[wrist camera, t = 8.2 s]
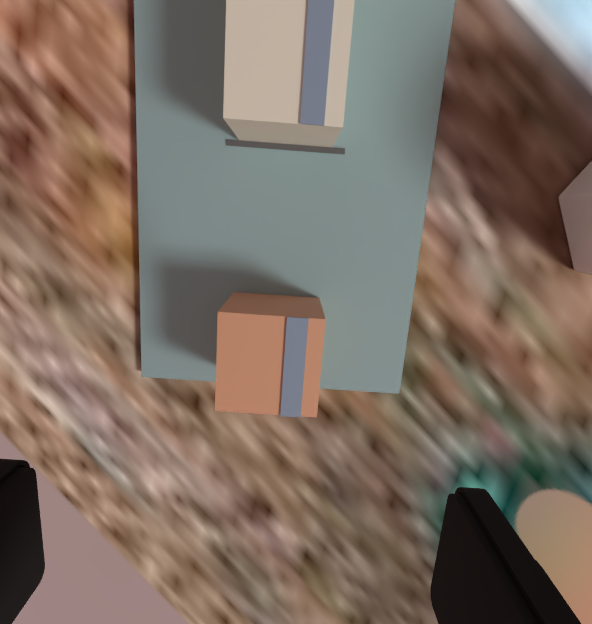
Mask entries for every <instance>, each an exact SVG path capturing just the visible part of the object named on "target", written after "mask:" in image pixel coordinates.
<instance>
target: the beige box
mask: <svg viewBox="0 0 592 624" xmlns="http://www.w3.org/2000/svg"><path fill="white" fill-rule="evenodd" d="M354 3H355V0H226V28H225V66H224V104H223V119H224V120H225V121H226V123H227V124H228V125H229V127H230V128H231V130H232V131H233V132H234V134H235V135H236V136H237V138H238V139H239V140H242V141H255V142H268V143H281V144H294V145H307V146H321V147H333V145H334V143H335V141H336V140H337V138H338V136H339V134H340V132H341V130H342V129H343V123H344V112H345V101H346V90H347V79H348V68H349V57H350V46H351V35H352V24H353V14H354Z"/></svg>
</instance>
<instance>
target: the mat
mask: <svg viewBox="0 0 592 624" xmlns="http://www.w3.org/2000/svg"><path fill="white" fill-rule="evenodd" d="M454 6H455V0H355V3H354V14H353V24H352V35H351V46H350V57H349V68H348V79H347V90H346V101H345V112H344V123H343V129H342V130H341V132H340V134H339V136H338V138H337V140H336V141H335V143H334V145H333V147H321V146H307V145H294V144H281V143H268V142H255V141H242V140H239V139H238V138H237V136H236V135H235V134H234V132H233V131H232V130H231V128H230V127H229V125H228V124H227V123H226V121H225V120H224V119H223V104H224V66H225V28H226V0H134V34H135V83H136V131H137V179H138V228H139V276H140V324H141V373H142V377H152V378H167V379H183V380H198V381H214V382H216V357H217V318H218V311H219V310H220V308H221V307H222V306H223V305H224V303H225V302H226V301H227V300H228V299H229V297H230V296H231V295H232V294H233V292H243V293H257V294H272V295H286V296H300V297H315V298H320V302H321V305H322V308H323V312H324V315H325V318H326V322H325V333H324V344H323V355H322V366H321V377H320V388H322V389H337V390H352V391H368V392H383V393H399V392H400V385H401V378H402V371H403V364H404V357H405V350H406V343H407V336H408V329H409V322H410V315H411V308H412V301H413V294H414V287H415V280H416V273H417V266H418V258H419V251H420V244H421V237H422V230H423V223H424V216H425V209H426V202H427V195H428V188H429V181H430V174H431V167H432V160H433V153H434V146H435V139H436V132H437V125H438V118H439V111H440V104H441V97H442V90H443V83H444V76H445V69H446V62H447V55H448V48H449V41H450V34H451V27H452V20H453V13H454Z"/></svg>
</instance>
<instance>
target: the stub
mask: <svg viewBox="0 0 592 624" xmlns="http://www.w3.org/2000/svg"><path fill="white" fill-rule="evenodd" d="M325 322H326V318H325V315H324V312H323V308H322V305H321V302H320V298H315V297H300V296H286V295H272V294H257V293H243V292H233V294H232V295H231V296H230V297H229V299H228V300H227V301H226V302H225V303H224V305H223V306H222V307H221V308H220V310H219V311H218V318H217V357H216V395H215V411H225V412H241V413H256V414H272V415H280V416H286V417H301V416H304V417H317V410H318V399H319V388H320V377H321V366H322V355H323V344H324V333H325Z"/></svg>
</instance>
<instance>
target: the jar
mask: <svg viewBox="0 0 592 624" xmlns="http://www.w3.org/2000/svg"><path fill="white" fill-rule="evenodd" d="M558 200H559V204H560V209H561V213H562V217H563V222H564V227H565V231H566V236H567V240H568V245H569V249H570V254H571V259H572V263H573V268H574V270H575V271H577V272H581V273H586V274H591V275H592V161H591V162H590V163H589V164H588V165H587V166H586V167H585V168H584V169H583V170H582V171H581V172H580V174H579V175H578V176H577V177H576V178H575V179H574V180H573V181H572V182H571V183H570V184H569V185H568V186H567V188H566V189H565V190H564V191H563V192H562V193H561V194H560V195H559V199H558Z"/></svg>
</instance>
